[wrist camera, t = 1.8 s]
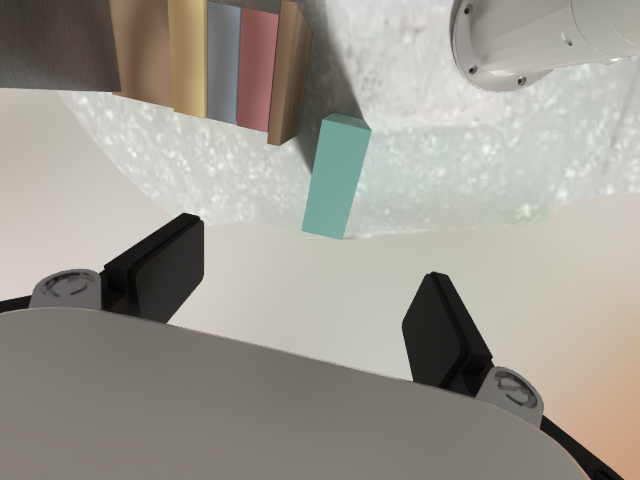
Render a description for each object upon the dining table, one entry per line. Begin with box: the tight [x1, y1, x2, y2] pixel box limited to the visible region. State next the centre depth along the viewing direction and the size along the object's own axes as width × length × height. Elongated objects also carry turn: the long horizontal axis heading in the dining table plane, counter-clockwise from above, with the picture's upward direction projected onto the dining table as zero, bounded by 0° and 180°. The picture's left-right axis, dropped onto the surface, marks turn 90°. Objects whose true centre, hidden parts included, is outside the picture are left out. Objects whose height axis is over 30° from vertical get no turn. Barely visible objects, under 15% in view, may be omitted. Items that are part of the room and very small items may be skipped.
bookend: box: [0, 0, 121, 92], centre depth 22 cm, size 1×10×22 cm, turn 169°
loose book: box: [302, 113, 372, 240], centre depth 30 cm, size 4×10×14 cm, turn 169°
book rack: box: [109, 0, 313, 146], centre depth 28 cm, size 24×11×10 cm, turn 79°
